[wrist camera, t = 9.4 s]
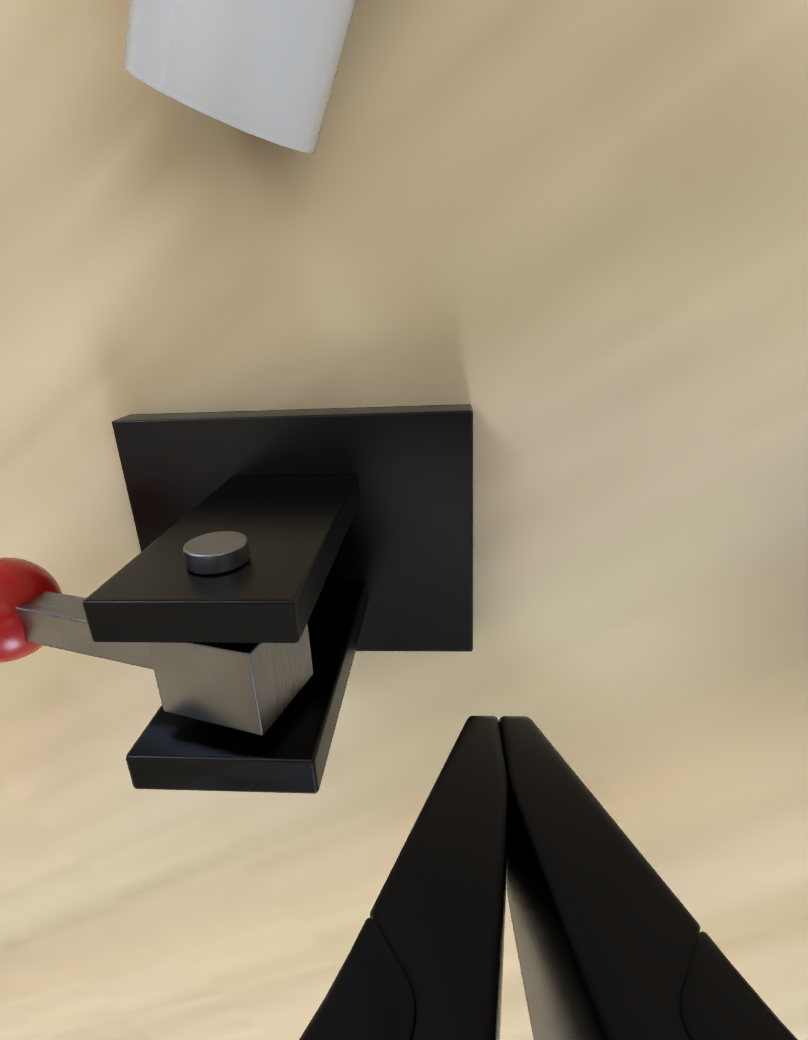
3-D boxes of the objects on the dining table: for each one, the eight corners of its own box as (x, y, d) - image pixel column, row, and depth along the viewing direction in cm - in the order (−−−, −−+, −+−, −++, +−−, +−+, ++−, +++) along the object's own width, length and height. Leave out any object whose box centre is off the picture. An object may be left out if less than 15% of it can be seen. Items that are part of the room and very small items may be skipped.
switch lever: (28, 620, 19) (-69, 673, 16) (1, 537, 18) (-107, 579, 15) (321, 680, 15) (257, 760, 13) (310, 579, 14) (237, 645, 12)
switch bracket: (176, 633, 24) (4, 847, 14) (129, 414, 20) (-132, 511, 11) (471, 634, 23) (487, 864, 13) (471, 404, 19) (492, 501, 10)
